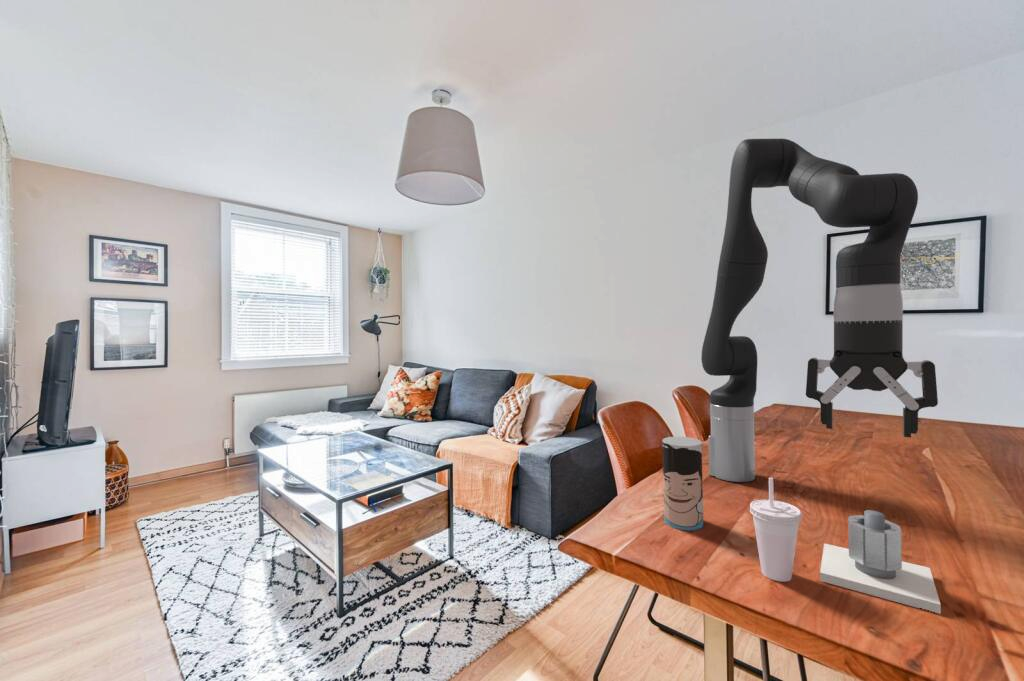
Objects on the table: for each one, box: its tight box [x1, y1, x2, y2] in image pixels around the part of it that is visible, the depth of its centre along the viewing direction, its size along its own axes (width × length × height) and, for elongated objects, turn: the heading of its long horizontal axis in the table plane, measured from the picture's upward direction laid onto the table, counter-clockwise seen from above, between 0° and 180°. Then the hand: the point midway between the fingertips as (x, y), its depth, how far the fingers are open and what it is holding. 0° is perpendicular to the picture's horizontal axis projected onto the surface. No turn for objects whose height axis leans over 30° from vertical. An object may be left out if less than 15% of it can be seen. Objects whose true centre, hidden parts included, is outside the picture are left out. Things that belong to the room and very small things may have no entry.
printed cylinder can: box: [661, 436, 704, 531], centre depth 79 cm, size 7×7×15 cm
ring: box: [847, 514, 903, 571], centre depth 60 cm, size 6×6×5 cm
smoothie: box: [749, 477, 803, 583], centre depth 62 cm, size 6×6×14 cm
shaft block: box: [819, 509, 942, 615], centre depth 60 cm, size 12×10×9 cm
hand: (866, 431), depth 62 cm, fingers open, 8 cm apart
